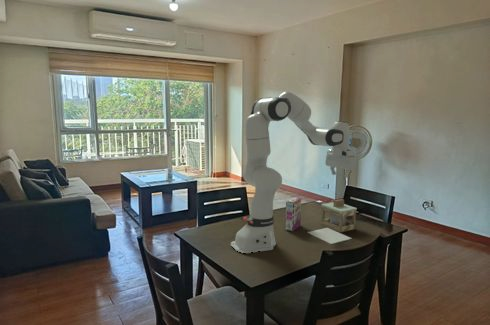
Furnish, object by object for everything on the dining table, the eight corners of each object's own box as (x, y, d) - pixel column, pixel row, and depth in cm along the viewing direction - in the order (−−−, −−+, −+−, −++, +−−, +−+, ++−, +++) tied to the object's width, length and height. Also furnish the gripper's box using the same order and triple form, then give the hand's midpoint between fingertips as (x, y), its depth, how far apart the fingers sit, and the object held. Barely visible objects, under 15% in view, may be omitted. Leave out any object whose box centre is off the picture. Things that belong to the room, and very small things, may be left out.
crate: (340, 232, 179) (341, 212, 178) (321, 224, 192) (321, 206, 191) (355, 229, 184) (355, 209, 183) (335, 221, 198) (336, 203, 196)
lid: (340, 214, 177) (341, 205, 176) (321, 207, 191) (321, 198, 190) (356, 211, 183) (357, 202, 182) (336, 204, 196) (336, 195, 196)
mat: (330, 244, 164) (330, 243, 164) (307, 232, 179) (307, 232, 179) (351, 239, 170) (351, 238, 170) (327, 228, 186) (327, 227, 186)
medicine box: (344, 225, 190) (344, 211, 189) (345, 228, 186) (346, 213, 184) (330, 225, 191) (330, 210, 190) (331, 228, 187) (331, 213, 185)
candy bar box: (293, 231, 181) (293, 202, 179) (285, 230, 184) (285, 201, 181) (301, 225, 191) (301, 197, 188) (292, 224, 193) (293, 196, 191)
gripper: (323, 149, 189) (322, 173, 191) (350, 153, 171) (349, 179, 174) (331, 148, 192) (330, 172, 194) (359, 152, 174) (357, 178, 177)
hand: (339, 176), depth 184 cm, fingers open, 8 cm apart
